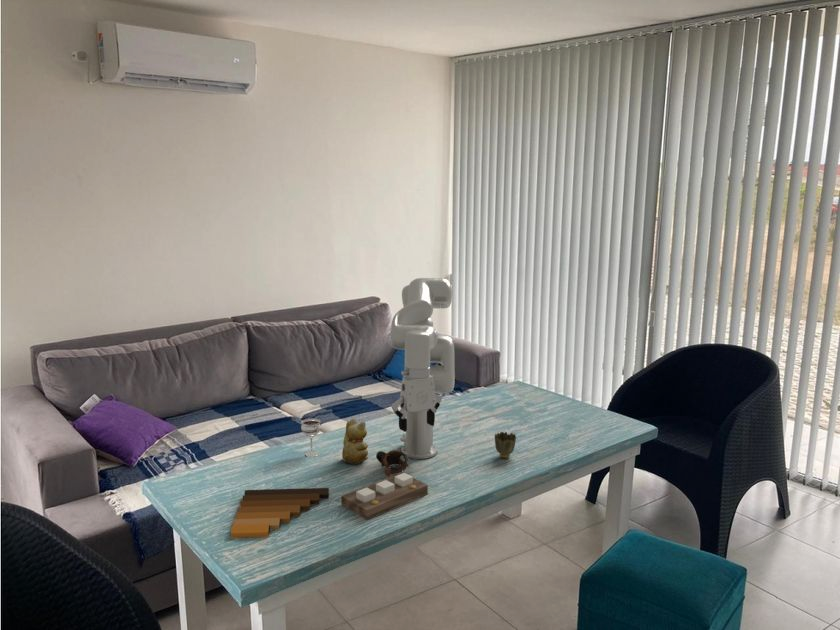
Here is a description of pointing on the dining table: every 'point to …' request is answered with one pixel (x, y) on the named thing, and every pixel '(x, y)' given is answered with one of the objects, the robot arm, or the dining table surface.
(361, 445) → the decorative figurine
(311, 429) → the wineglass
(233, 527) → the pan flute
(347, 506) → the button board
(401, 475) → the button
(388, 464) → the pottery mug
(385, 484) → the button middle
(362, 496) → the button
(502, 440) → the dark tapered rough piece
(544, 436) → the dining table surface
